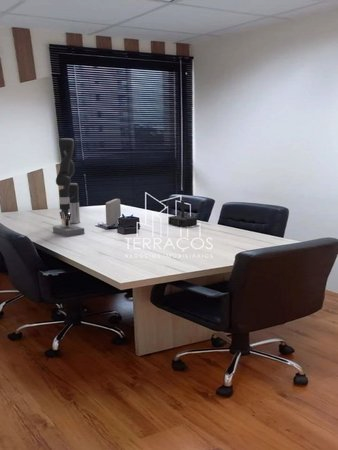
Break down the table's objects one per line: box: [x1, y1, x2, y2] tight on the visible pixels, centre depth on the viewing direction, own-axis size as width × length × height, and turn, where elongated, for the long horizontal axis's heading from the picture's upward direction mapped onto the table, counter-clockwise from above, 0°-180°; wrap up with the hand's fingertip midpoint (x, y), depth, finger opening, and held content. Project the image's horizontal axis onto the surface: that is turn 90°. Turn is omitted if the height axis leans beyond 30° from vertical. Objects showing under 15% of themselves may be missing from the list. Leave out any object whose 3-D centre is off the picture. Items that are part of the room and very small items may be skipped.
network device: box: [105, 198, 122, 226], centre depth 343 cm, size 26×9×20 cm, turn 168°
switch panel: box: [52, 224, 85, 237], centre depth 316 cm, size 22×14×4 cm, turn 42°
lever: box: [61, 218, 71, 227], centre depth 318 cm, size 3×5×6 cm, turn 132°
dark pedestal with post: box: [167, 199, 198, 228], centre depth 341 cm, size 19×17×20 cm
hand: (65, 225), depth 318 cm, fingers closed on lever, 3 cm apart
